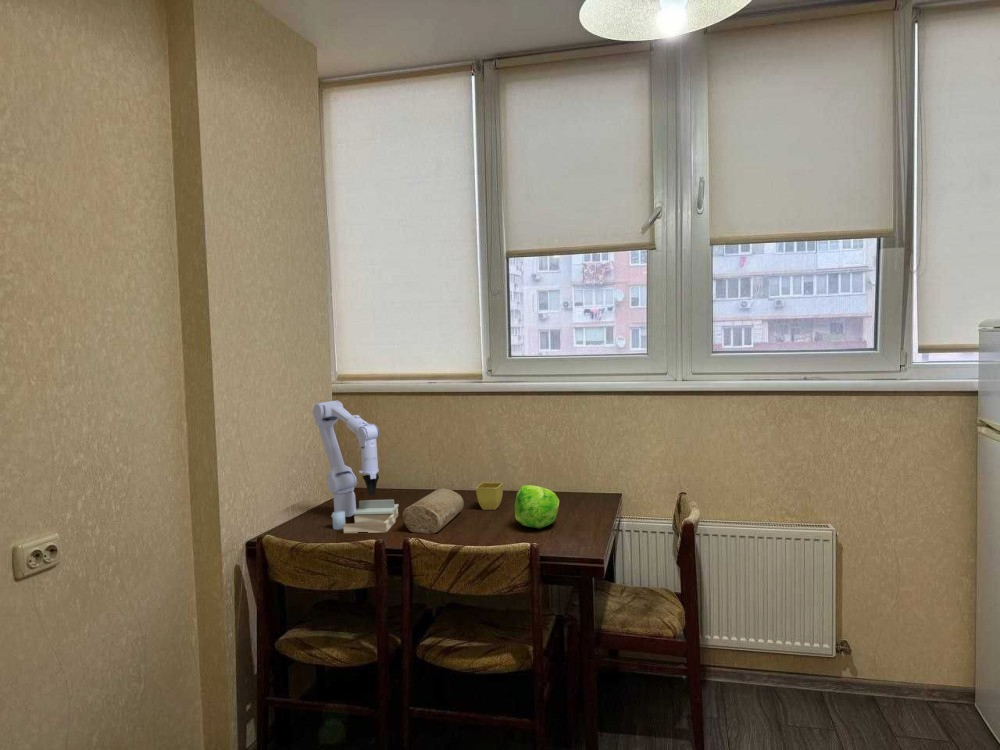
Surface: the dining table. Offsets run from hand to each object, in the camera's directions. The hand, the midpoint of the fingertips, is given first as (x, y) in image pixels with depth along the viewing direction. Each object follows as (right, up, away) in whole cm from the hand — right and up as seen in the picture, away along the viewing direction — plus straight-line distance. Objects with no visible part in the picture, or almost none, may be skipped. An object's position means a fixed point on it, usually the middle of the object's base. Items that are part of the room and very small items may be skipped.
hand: (371, 494), depth 240 cm
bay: (+1, -10, -3) cm, 11 cm away
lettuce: (+60, -8, -15) cm, 62 cm away
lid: (+1, -6, +3) cm, 7 cm away
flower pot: (+43, -7, +11) cm, 45 cm away
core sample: (+24, -10, -5) cm, 26 cm away
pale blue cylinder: (-11, -11, -5) cm, 16 cm away
